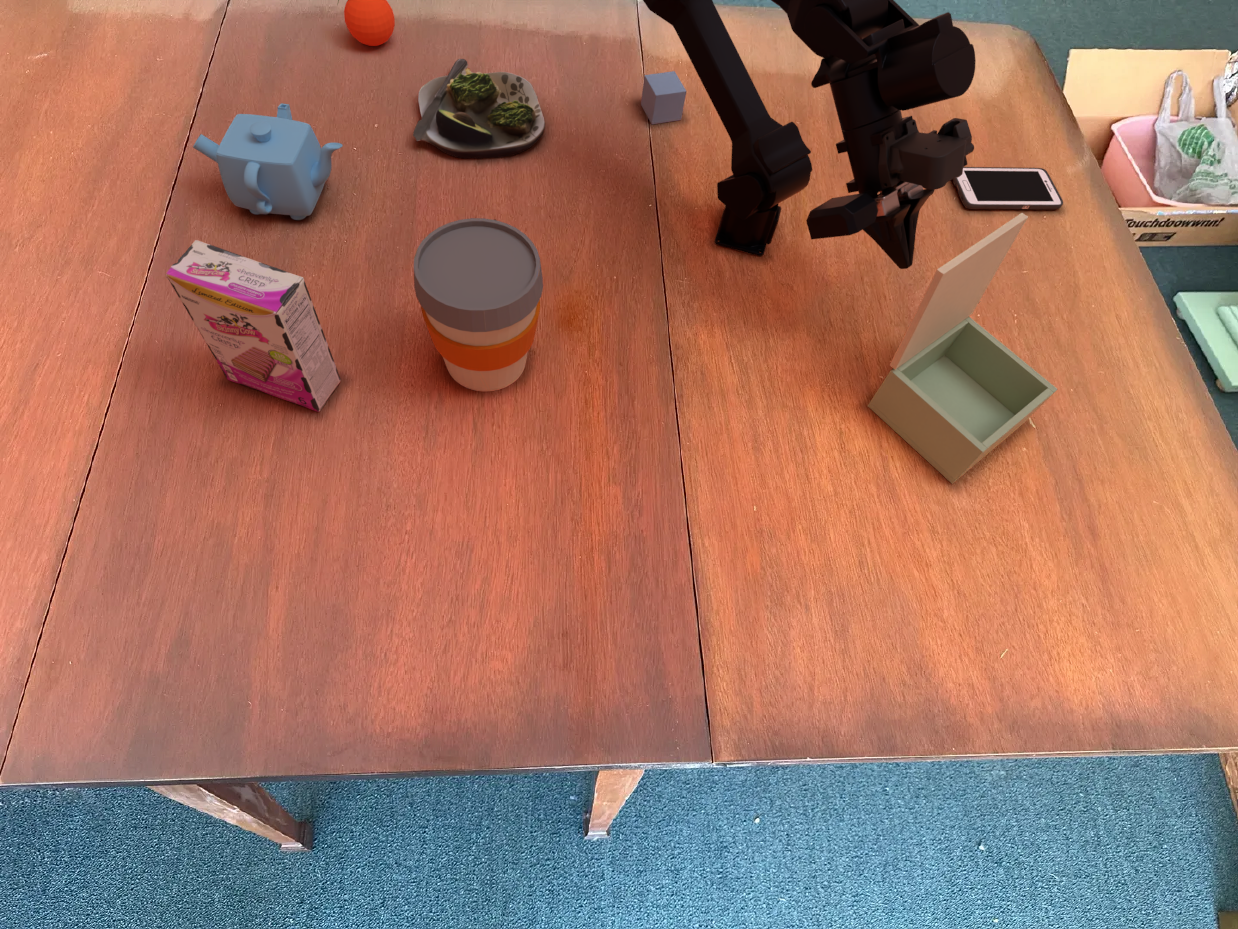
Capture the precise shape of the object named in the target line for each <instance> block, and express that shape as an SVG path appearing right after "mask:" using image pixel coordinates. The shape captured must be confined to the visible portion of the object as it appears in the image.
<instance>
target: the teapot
mask: <svg viewBox="0 0 1238 929" xmlns="http://www.w3.org/2000/svg"><path fill="white" fill-rule="evenodd" d="M321 146H322V145H321V144H320V142H319V140H318V137H317V135H316V133H315V131H314V129H313V127H312V126H311V124H309V123H307V122H304V121H299V120H294V119H293V115H292V111H291V106H290V104H289V103H280V104H279V105H278V106H277V110H276V116H271V115H270V116H269V115H261V114H250V113H237V114H236V115H235V116H234V117H233V119H232V122H231V123H230V125H229V127H228V128H227V130H226V132H225V134H224V136H223V137H222V139H221V141H220V143H219V144H218V143H217V142H215V141H213V140H212V139H210V138H209V137H207V136H206V135H204V134H202V133H200V134H199V135H198V137H197V138H196V140H195V142H194V143H193V146H192V148H193V149H195V150H196V151H198V152H199V153H201V154H202V155H204V156H206V157H207V158H209V159H210V160H212V161H213V162H215V163H216V164H217V165H218V170H219V175H220V178H221V182H222V184H223V187H224V190H225V192H226V195H227V197H228V198H229V200H230V201H231V203H232V204H233V205H234V206H235V207H238V208H242V209H246V210H249V212H250V213H251V214H253V215H268V214H274V215H282V216H283V215H284V216H290V218H291V219H292V220H295V221H301V220H304V219H305V218H306V217H308V216H309V217H310V216H311V215H312V213H313V212H314V210H315V208H316V206H317V204H318V202H319V199H320V197H321V194H322V192H323V189H324V186H325V184H326V182H327V181H328V180H329V178H330V176H331V173H332V167H333V166H332V163H333V162H332V156H333V153H334V152H335V151H337V150H339V149H341V148H343V146H344V145H343V144H342V143H340V142H328V143H325V144H324V145H323V146H322V147H321Z"/></svg>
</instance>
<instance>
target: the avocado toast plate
mask: <svg viewBox="0 0 1238 929" xmlns="http://www.w3.org/2000/svg"><path fill="white" fill-rule="evenodd" d="M468 66H469V62H468V61H467V59H465V58H458V59H457V60H455V61H454V63H453V65H452V67H451V68H450V71H449V73H448V75H447V74H446V75H443V76H437V77H434V78H432V79H431V80H429V81H427V82H426V83H425V84H424V85H422V86H421V87H420V89H419V90H418V96H417V97H418V98H417V100H418V101H417V102H418V108H419V113H420V116H421V119H420V120H418V121H417V123H416V125H415V128H414V130H413V133H412V136H413V137H414V139H415V140H416V142H418V141H422V142H425V143H429V144H430V145H432V146H433V147H435V148H437V149H438V150H439V151H440V152H442V153H445V154H446V155H449V156H451V157H454V158H459V159H494V158H496V159H497V158H504V157H511V156H514V155H515V156H516V155H517V154H520V153H522V152H525V151H527V150H529V149H530V148H532V147H533V146H534V145H535V144H537V142H538V141H540V140H541V138H542V136H543V134H544V132H545V127H546V120H545V117H544V113H543V111H542V108H541V105H540V101H539V99H538V98H539V97H538V95H537V93H536V91H535V88H534V86H533V84H532V83H531V82H530V81H529V80H527V79H526V78H524V77H522V76H521V75H518V74H516V73H513V72H507V71H496V72H495V71H494V72H485V73H484V72H481V71H477V72H473V71H471V68H470V67H468Z"/></svg>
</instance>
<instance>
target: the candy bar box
mask: <svg viewBox="0 0 1238 929" xmlns="http://www.w3.org/2000/svg"><path fill="white" fill-rule="evenodd" d="M165 277H166V278H167V280H168V281H169V283H170V285H171V287H172V288H173V290H174V291H175V293H176V295H177V297H178V299H179V300H180V302H181V303H182V305H183V307H184V309H185V310H186V312H187V314H188V315H189V317H190V319H191V321H192V322H193V324H194V325H195V327H196V328H197V330H198V332H199V333H200V335H201V337H202V340H203V341H204V342H205V344H206V346H207V348H208V349H209V350H210V352H211V354H212V356H213V358H214V359H215V360H216V363H217V364H218V366H219V367H220V370H221V371H222V373H223V375H224V376H225V379H226V380H228V381H229V382H233V383H236V384H239V385H242V386H245V387H247V388H250V389H253V390H256V391H259V392H262V393H265V394H266V395H270V396H273V397H276V398H278V399H281V400H283V401H286V402H289V403H292V404H296V405H298V406H301V407H303V408H306V409H309V410H312V411H314V412H317V413H320V412H321V411H322V410H323V408H324V407H325V405H326V404H327V402H328V400H329V399H330V397H331V395H332V394H333V393H334V392H335V390H336V389H337V387H338V386H339V384H340V383H341V381H342V379H341V376H340V374H339V370H338V368H337V365H336V362H335V360H334V357H333V355H332V352H331V349H330V346H329V343H328V341H327V338H326V336H325V333H324V330H323V327H322V325H321V322H320V319H319V316H318V314H317V311H316V309H315V306H314V302H313V300H312V298H311V295H310V292H309V289H308V287H307V284H306V281H305V278H304V277H303V276H301V275H298V274H295V273H292V272H289V271H286V270H283V269H281V268H278V267H275V266H272V265H269V264H267V263H263V262H261V261H258V260H255V259H252V258H249V257H246V256H245V255H244V256H243V255H241V254H238V253H235V252H232V251H229V250H226V249H225V248H224V249H223V248H220V247H218V246H215V245H213V244H209V243H206V242H204V241H202V240H198V239H195V240H194V241H193V242H192V243H191V245H190V246H189V247H187V250H186V251H185V252H183V254H182V255H181V256H180V257H179V258H178V260H177V262H174V263H173V264H172V265H171V266H170V267H169V269H168V270H167V271H166V273H165Z"/></svg>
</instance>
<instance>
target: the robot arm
mask: <svg viewBox="0 0 1238 929" xmlns="http://www.w3.org/2000/svg"><path fill="white" fill-rule="evenodd" d="M642 1H643V3H644V4H645V6H646V7H647V9H648V10H649V11H651V12H652V13H653V14H654V15H656V16H658V17H659V18H660V19H662V20H664V21H665V22H667V23H668V24H670V25H671V27H672V28H673V29H674V30H675V33H676V34H677V36H678V38H679V40H680V43H681V44H682V46H683V48H684V50H685V52H686V55H687V56H688V58H689V60H690V62H691V64H692V66H693V68H694V70H695V71H696V74H697V76H698V78H699V80H700V81H701V84H702V86H703V88H704V89H705V91H706V93H707V95H708V97H709V99H710V101H711V103H712V105H713V108H714V109H715V111H716V113H717V115H718V117H719V119H720V121H721V123H722V125H723V127H724V129H725V131H726V133H727V134H728V137H729V138H730V141H731V162H730V170H731V172H732V174H731V175H730V176H728V177H725V178H724V179H722V180H720V181H718V182H716V192H717V200H718V201H719V202H721V203H722V204H723V205H724V208H723V211H722V214H721V217H720V220H719V225H718V228H717V231H716V235H715V238H714V244H715V245H717V246H720V247H723V248H728V249H731V250H735V251H739V252H742V253H746V254H750V255H753V256H757V257H763V256H765V251H766V249H767V248H766V247H767V245H771V244H772V240H773V238H774V235H775V232H776V229H777V227H778V223H779V220H780V216H781V212H782V206H781V205H779V204H780V203H782V202H784V201H786V200H788V199H789V198H791V197H792V196H794V195H796V194H798V193H800V192H801V191H803V190H804V189H805V188H807V187H808V185H809V182H810V180H811V173H812V172H813V164H812V161H811V158H810V156H809V155H810V154H811V153H812V151H811V149H810V148H809V147H808V146H807V145H806V143H805V142H804V140H803V137H802V135H801V132H800V129H799V127H798V125H797V124H796V123H795V122H794V121H790V122H788V123H786V124H784V125H782V124H781V123H779V122H778V121H777V120H775V119H774V118H773V117H771V115H770V114H769V111H768V110H767V107H766V106H765V103H764V102H763V100H762V97H761V95H760V93H759V91H758V90H757V88H756V85H755V83H754V81H753V80H752V78H751V76H750V74H749V72H748V70H747V68H746V65H745V64H744V62H743V60H742V57H741V56H740V53H739V52H738V50H737V48H736V46H735V43H734V42H733V40H732V37H731V35H730V34H729V32H728V30H727V27H726V25H725V24H724V22H723V20H722V17H721V15H720V13H719V11H718V9H717V7H716V5H715V3H714V1H713V0H642ZM770 1H771V2H772V3H774V4H775V5H776V6H778V7H779V8H780V9H781V10H782V11H783V12H784V13H785V14H786V16H787V20H788V22H789V25H790V28H791V31H792V32H793V33H794V35H796V37H798V39H799V40H800V41H801V42H803V44H804V45H805V46H807V48H808V49H809V50H810V51H811V52H812V53H813V54H815V55H816V56H817V57H819V58H822V59H821V60H820V65H819V67H818V69H817V72H816V73H815V74H814V76H813V78H812V80H811V82H810V85H811V87H812V88H813V89H817V88H819V87H823V86H826V85H829V87H830V91H831V94H832V100H833V102H834V107H835V110H836V115H837V118H838V122H839V125H840V129H841V134H842V138H843V139H842V140H840V141H838V142H837V143H835V147H836V151H837V154H838V155H839V154H844V153H847V157H848V161H849V165H850V169H851V172H852V177H853V179H851V180H849V181H847V182H846V183H845V185H846V190H847V193H848V195H842V196H837V197H832V198H830V199H829V200H827V201H825V202H823V203H822V204H820V205H818V206H816V207H814V208H812V209H811V210H810V211H809V212H808V215H807V217H806V219H805V220H806V221H805V222H806V225H807V229H808V232H809V237H810V240H819V239H829V238H837V237H847V236H852V235H855V234H858V233H859V232H862V231H863V232H864V233H866V235H868V236H869V237H870V238H871V239H872V240H873V241H874V242H875V244H877V246H879V247H880V248H881V250H882V251H883V252H884V253H885V255H886V256H888V257H889V259H890V260H891V261H893V263H894V264H895V266H897V267H898V268H899V269H900V270H907V269H909V268H910V267H912V266H913V263H914V253H915V243H916V235H917V228H918V227H917V226H918V221H919V215H920V211H921V209H922V207H923V206H924V204H925V203H926V202H927V201H928V199H930V197H931V196H933V194H934V192H935V191H936V190H940V189H942V188H944V187H945V186H946V185H947V183H949V182H950V181H953V180H952V179H953V178H955V177H957V178H958V177H960V176H961V175H962V173H963V167H967V166H968V159H967V156H968V155H969V154H972V153H973V152H974V150H975V145H974V143H972V140H973V136H972V132H971V129H970V126H969V123H968V120H967V119H965V118H958V117H953V118H952V119H950V120H948V121H946V122H945V123H943V124H942V125H941V127H940V128H939V130H938V129H937V130H936V129H932V130H931V131H930V132H920V131H919V128H918V125H917V121H916V119H914V118H913V115H908V116H905V117H903V114H902V112H903V111H909V110H913V109H916V108H917V109H918V108H920V107H924V106H927V105H931V104H936V103H939V102H940V103H941V102H943V101H946V100H951V99H954V98H958V97H961V96H963V95H964V94H965V93H966V92H967V91H968V90H969V88H970V87H971V85H972V83H973V81H974V77H975V74H976V73H975V72H976V63H977V62H976V52H975V47H974V44H973V43H971V42H970V40H969V37H968V36H967V34H966V33H965V31H963V30H962V29H961V28H960V27H957V26H955V25H954V23H953V16H952V13H950V12H949V11H948V12H945V13H942V14H939V15H937V16H935V17H933V18H931V19H929V20H927V21H925V22H923V23H921V24H919V23H918V22H917V21H916V20H915V19H914V18H913V17H912V16H911V15H910V14H908V13H907V11H906V10H905V9H903V7H902V6H900V5H899V4H898V3H897V2H896V1H895V0H770ZM856 192H858V193H856ZM851 193H854V194H851Z"/></svg>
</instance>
